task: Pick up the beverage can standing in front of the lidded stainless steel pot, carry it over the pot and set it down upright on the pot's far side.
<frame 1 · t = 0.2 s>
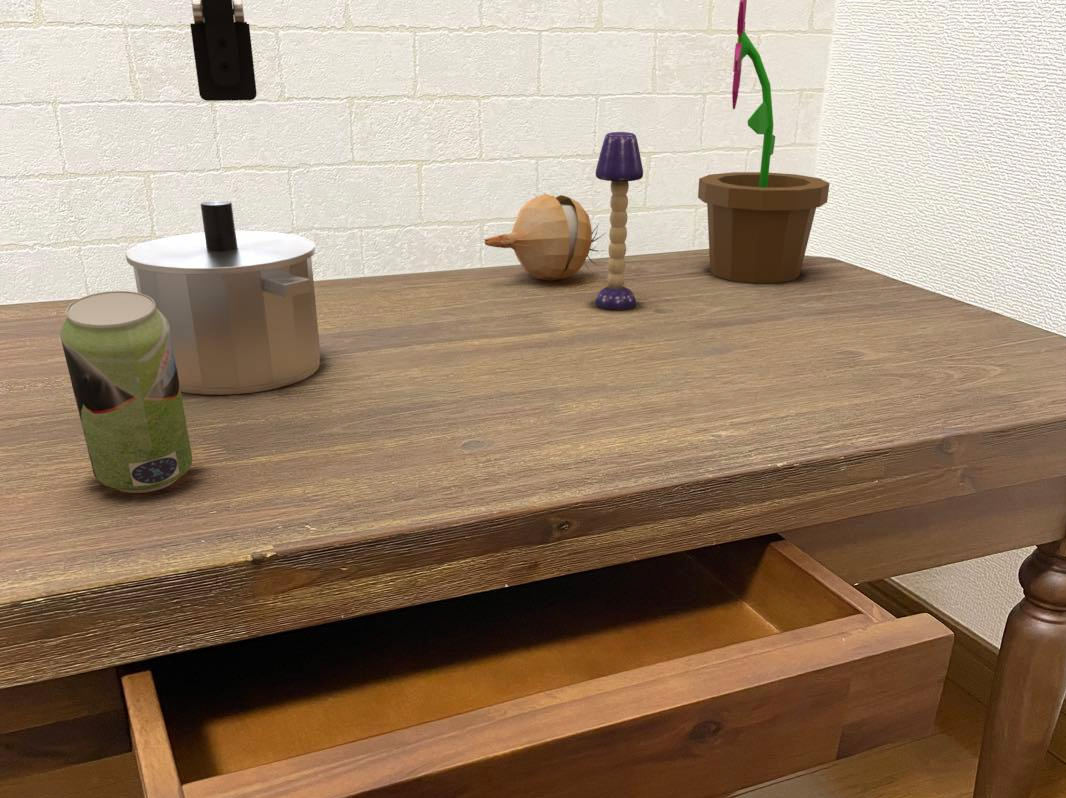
hand: (229, 94, 65), 22 cm above the table, tool pointing down, fingers open, 9 cm apart
beverage can: (146, 487, 66), on the table
flowerpot: (754, 274, 121), on the table
pot lid: (223, 254, 84), point 9 cm above the table, touching pot
yellow onion: (543, 281, 117), on the table
toy lamp: (614, 307, 107), on the table
pot: (238, 368, 88), on the table
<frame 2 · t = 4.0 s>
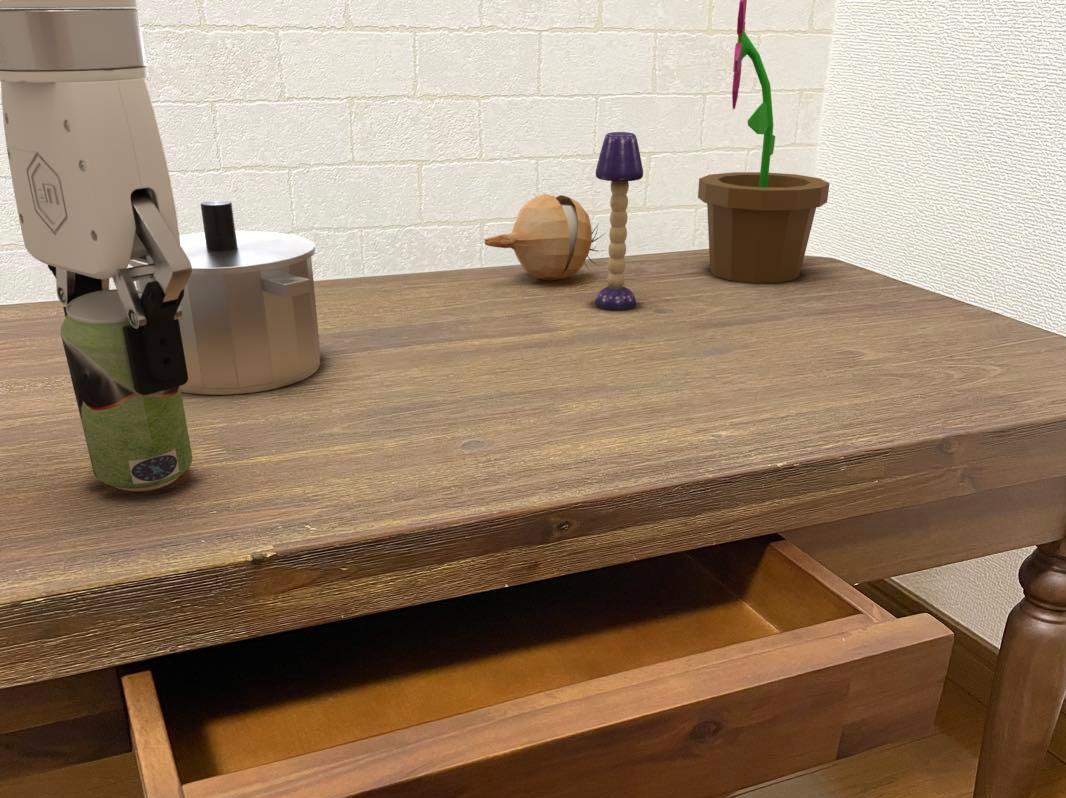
hand: (131, 374, 63), 7 cm above the table, tool pointing down, fingers closed on beverage can, 6 cm apart
beverage can: (146, 486, 66), on the table, touching gripper
everything else where it was.
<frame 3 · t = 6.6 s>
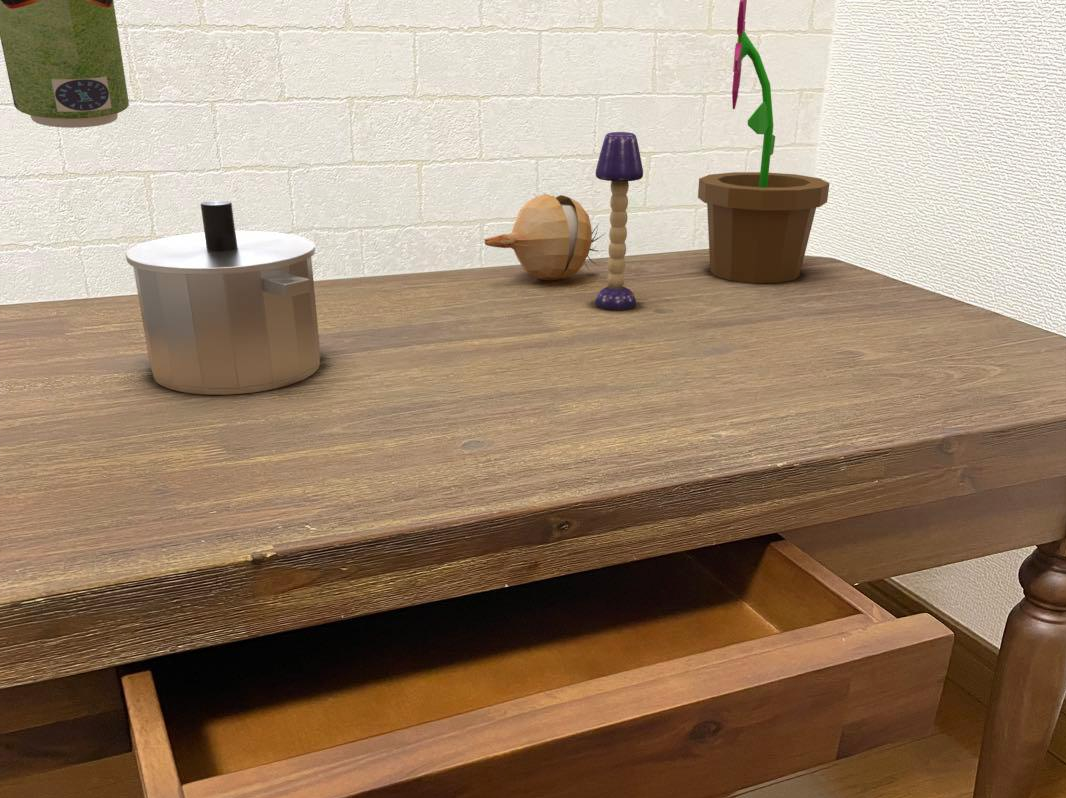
beverage can: (74, 129, 59), point 21 cm above the table, touching gripper
everything else where it was.
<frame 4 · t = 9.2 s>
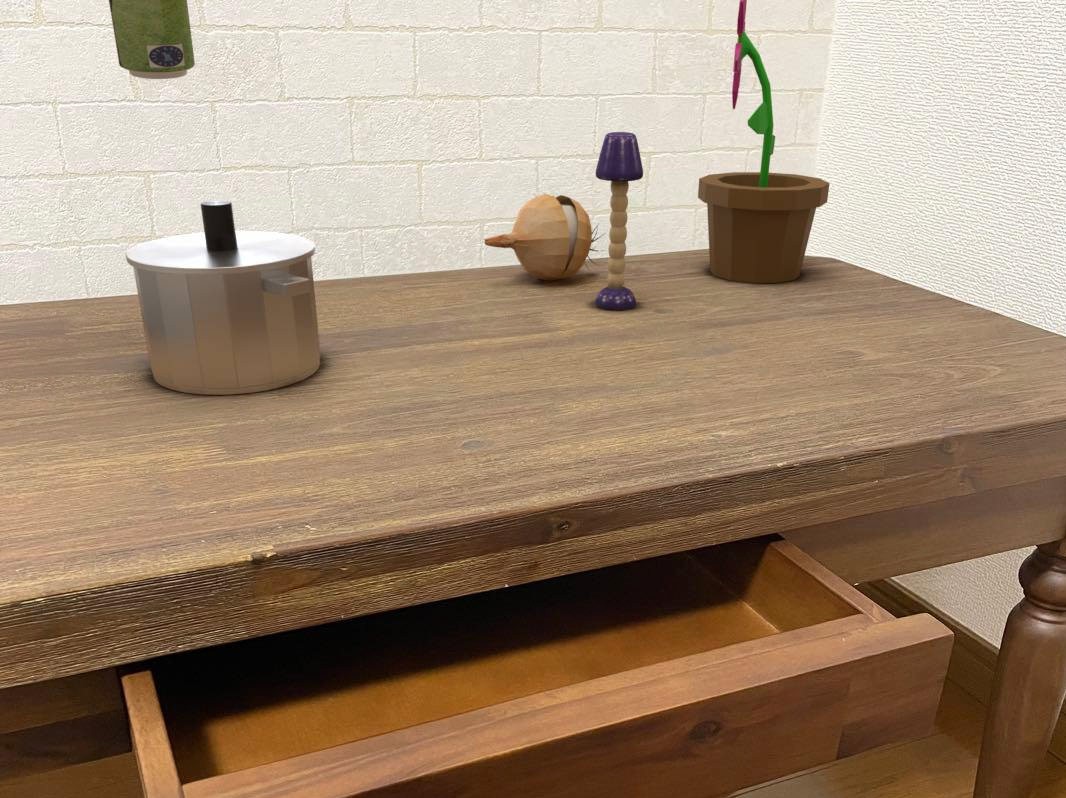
beverage can: (159, 81, 87), point 22 cm above the table, touching gripper
everything else where it was.
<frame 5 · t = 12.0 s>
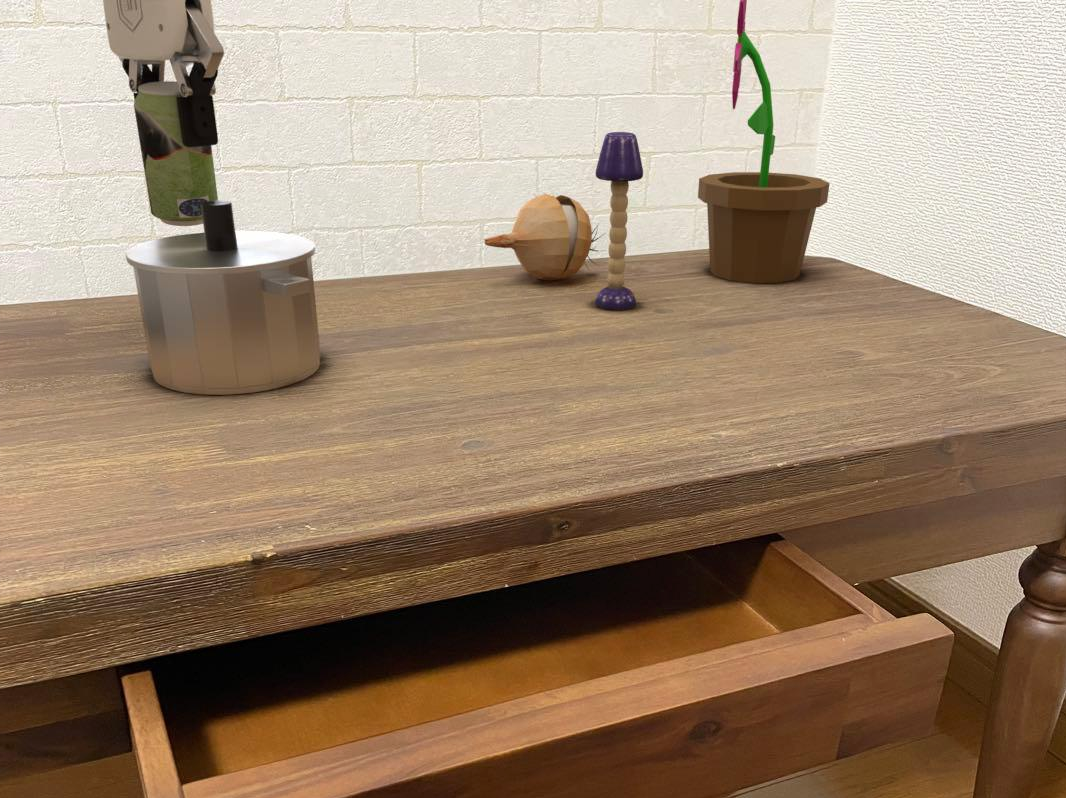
hand: (179, 140, 92), 17 cm above the table, tool pointing down, fingers closed on beverage can, 6 cm apart
beverage can: (186, 226, 96), point 9 cm above the table, touching gripper
everything else where it was.
when the fingers open (7 cm above the table, at t = 14.6 s): beverage can stays where it is, on the table.
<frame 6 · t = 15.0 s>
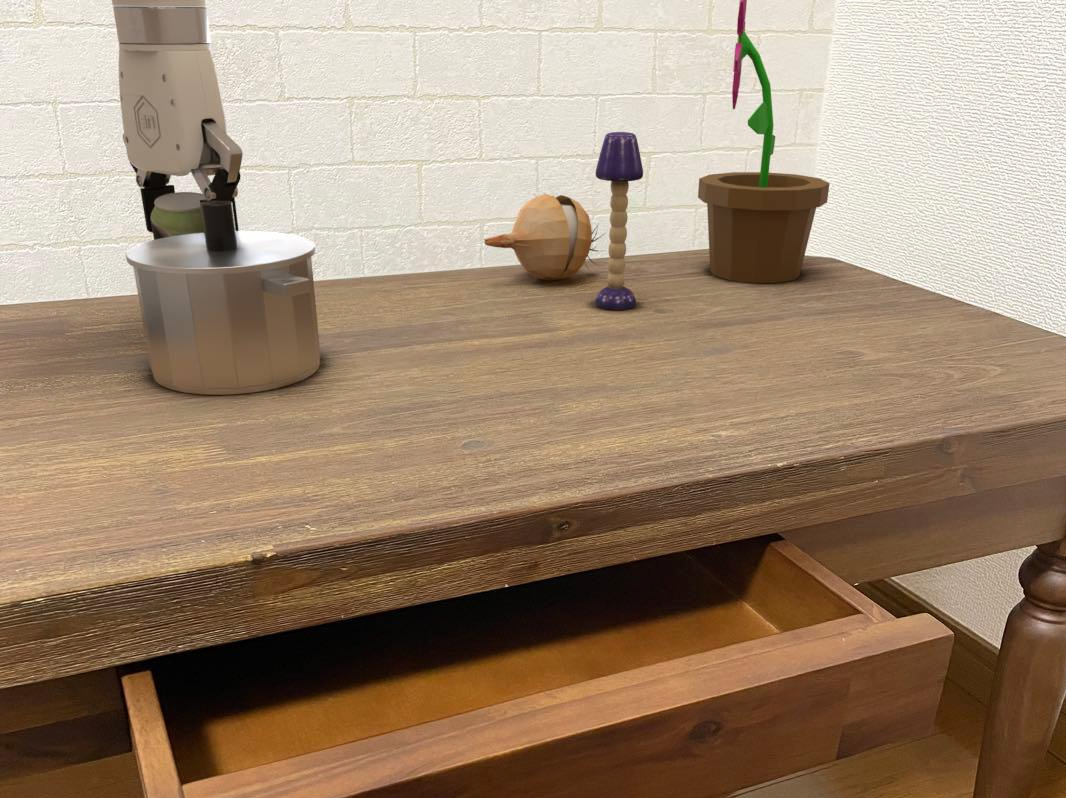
hand: (192, 237, 96), 8 cm above the table, tool pointing down, fingers open, 9 cm apart
beverage can: (201, 326, 100), on the table
everything else where it was.
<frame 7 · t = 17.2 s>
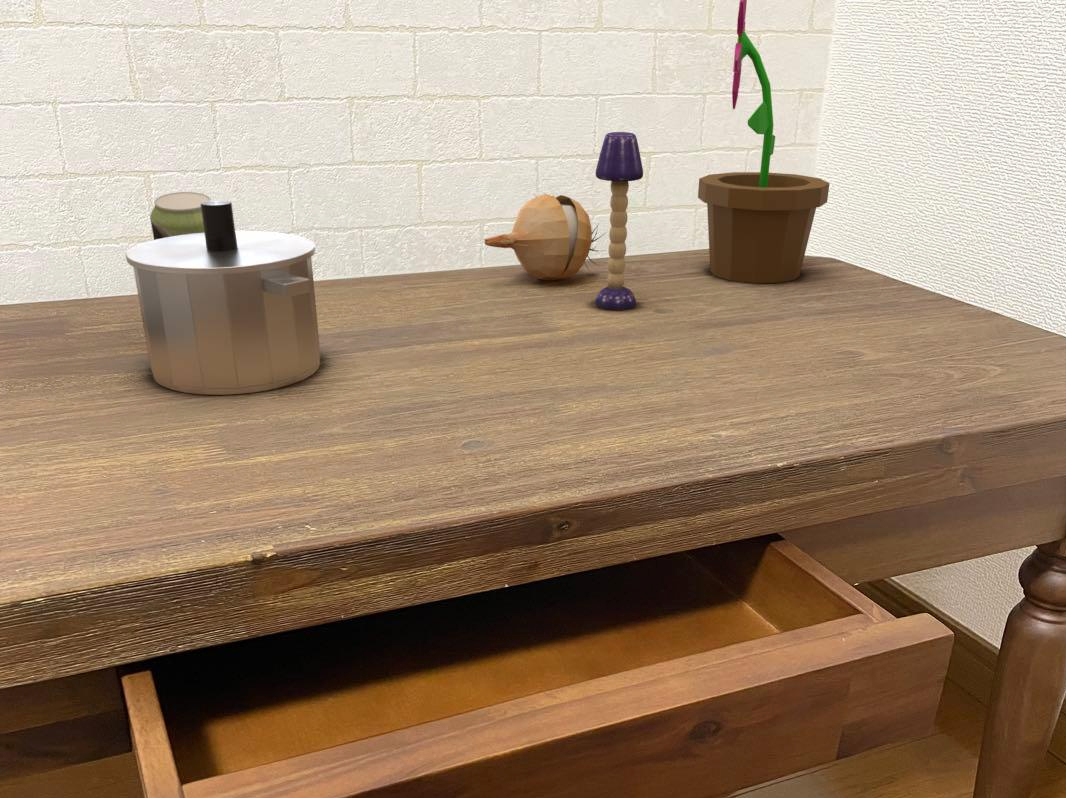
nothing on the table moved.
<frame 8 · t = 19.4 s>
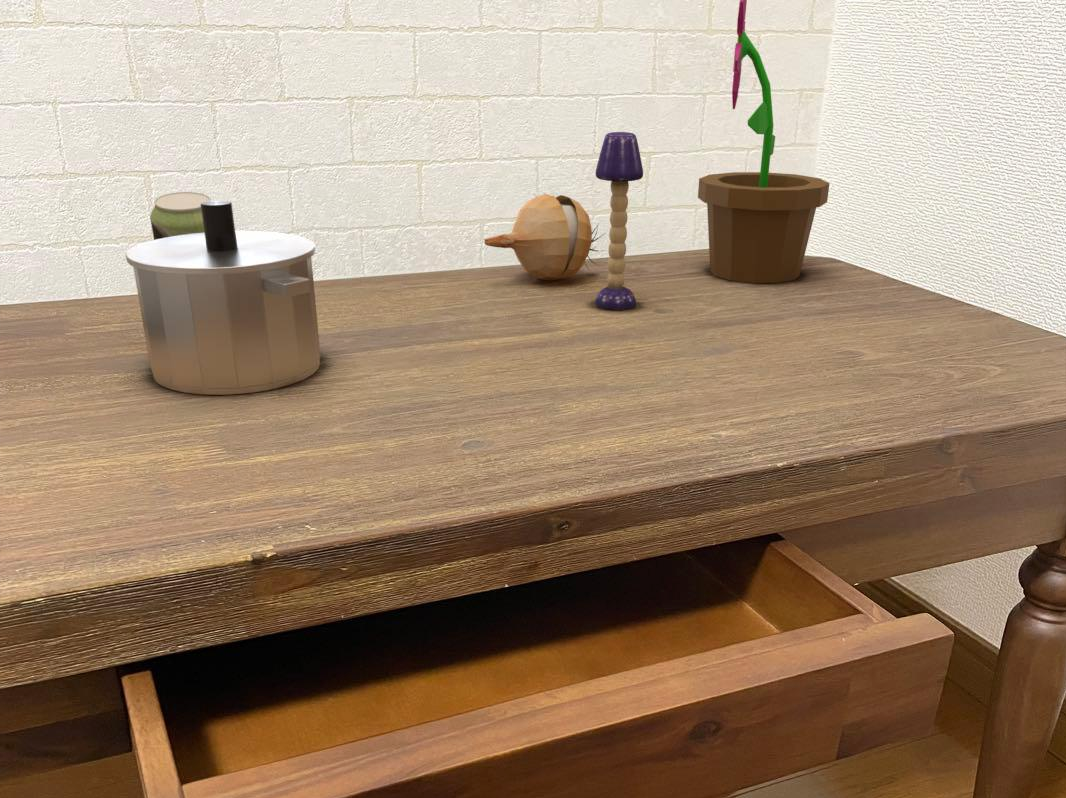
nothing on the table moved.
at the end: beverage can inside the target area on the table beside the pot (0.4 cm from its centre), on the table; beverage can tilted 0°; the gripper is holding nothing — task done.
